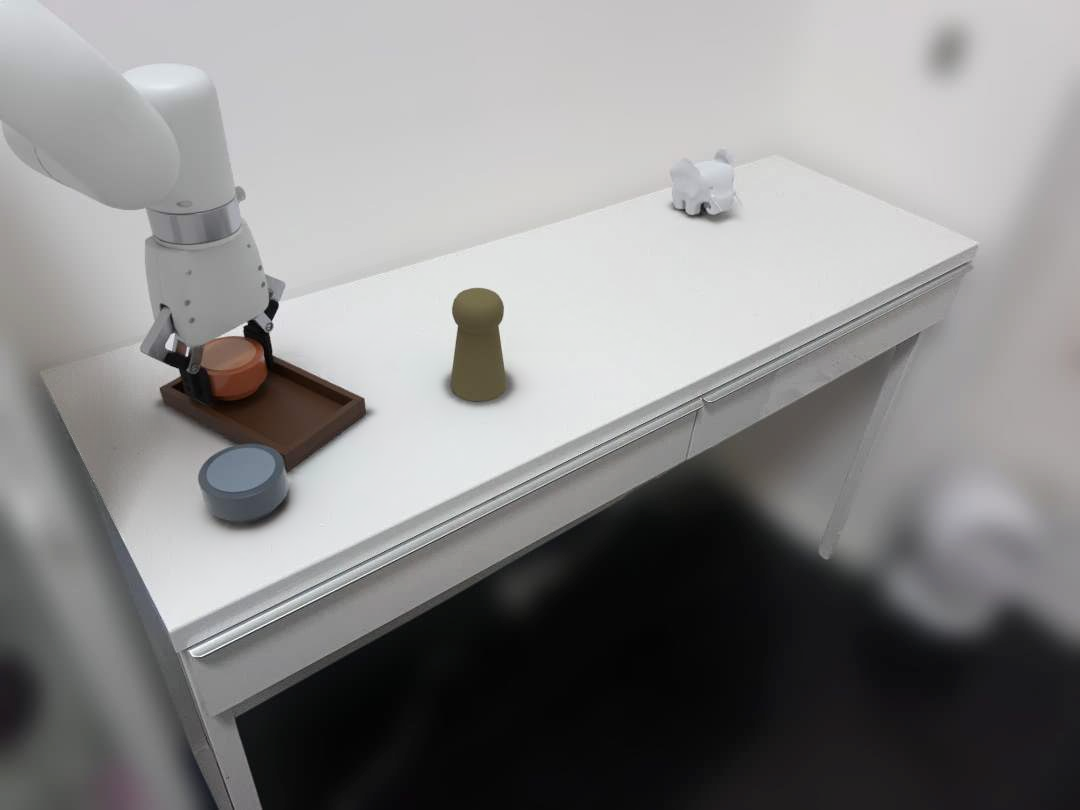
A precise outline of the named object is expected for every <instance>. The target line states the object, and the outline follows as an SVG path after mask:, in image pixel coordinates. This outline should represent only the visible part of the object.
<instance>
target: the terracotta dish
mask: <svg viewBox="0 0 1080 810" xmlns="http://www.w3.org/2000/svg"><path fill="white" fill-rule="evenodd" d="M200 367H202V368H204V369H206V370H207V373H208V377H209V381H210V385H211V389H212V393H213V397H214V398H215V399H218V400H224V401H232V400H238V399H242V398H245V397H247V396H249V395H251V394H253V393H254V392H255V391H256V390H257V389H258V388H259V386H260V384H261V383H262V382H263V381H264V380H265V379H266V376H267V373H268V371H267V365H266V360H265V355H264V350H263V347H262V345H261V344H260V343H259V342H257V341H256V340H253V339H251V338H248V337H244V336H243V335H241V336H240V335H229V336H228V335H227V336H219V337H217V338H215V339H213V340H212V341H210V342H208V343H206V344H205V346H204V351H203V356H202V361H201V365H200Z"/></svg>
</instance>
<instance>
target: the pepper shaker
mask: <svg viewBox="0 0 1080 810" xmlns="http://www.w3.org/2000/svg"><path fill="white" fill-rule="evenodd" d="M504 312H505V305H504V302H503V300H502V298H501V296H500V294H498V293H497V292H496V291H493V290H491V289H490V288H485V287H471V288H467V289H464V290H461V292H459V293H457V295H456V296H455V298H454V299H453V302H452V305H451V315H452V318H453V320H454V322H455V324H456V325H457V330H456V339H455V346H454V352H453V361H452V368H451V376H450V384H449V386H450V390H451V392H452V393H453V394H454V395H455V396H456V397H458V398H459V399H460V398H461V399H462V400H464V401H465V400H466V401H470V402H480V403H481V402H487V401H488V402H489V401H492V400H493V399H497V398H498V397H500V396H501V395H503V394H504V392H505V391H506V389H507V377H506V370H505V363H504V355H503V348H502V341H501V333H500V324H502V322H503V319H504V314H505V313H504Z"/></svg>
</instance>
